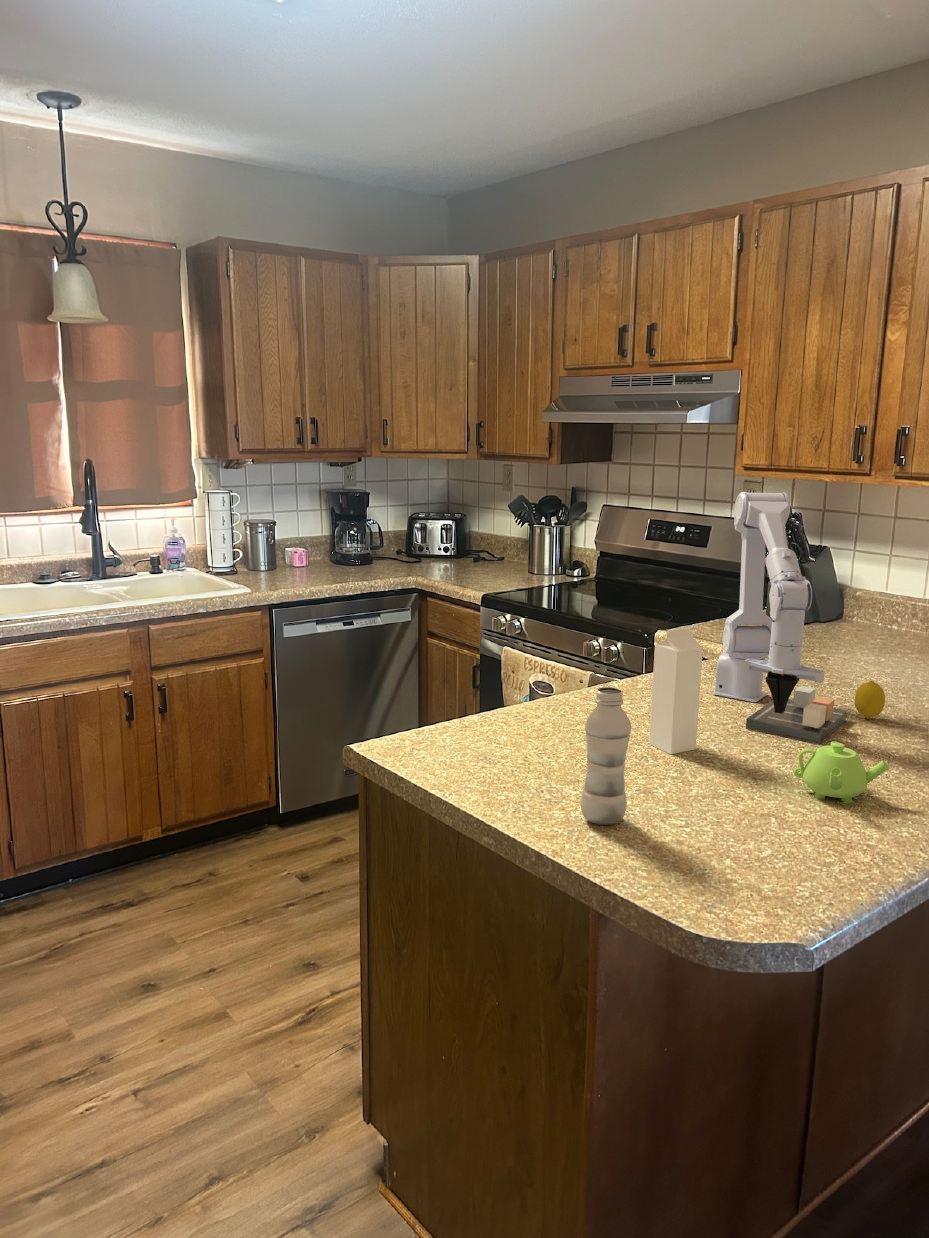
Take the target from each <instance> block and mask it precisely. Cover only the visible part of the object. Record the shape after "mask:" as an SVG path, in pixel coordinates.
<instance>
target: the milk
mask: <svg viewBox="0 0 929 1238" xmlns="http://www.w3.org/2000/svg"><path fill="white" fill-rule="evenodd" d="M703 649H704V648H703V647H702V645H700V643H699V642H698V641H697V640H696V638H695V637H694V636H693V628H692V627H685V628H676V629H670V630H669V629H668V630H667V632H666V637H665V639H664V640H662V641H660V642H657V643H656V644H655V645H654V655H653V657H654V659H653V669H652V670H653V673H652V687H651V688H652V689H651V690H652V691H651V705H650V718H649V719H650V720H649V721H650V723H649V737H648V744H649V746H652V747H654V748H656V749H658V750H660V751H663V752H665V753H667V754H669V755H674V754H678V753H684V752H689V751H693V750H696V749H697V738H698V737H697V735H698V724H699V723H698V720H699V708H700V697H701V696H700V692H701V680H702V679H701V678H702V667H703V665H702V664H703V653H704V652H703V651H704V650H703Z"/></svg>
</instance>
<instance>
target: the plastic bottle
mask: <svg viewBox="0 0 929 1238" xmlns="http://www.w3.org/2000/svg"><path fill="white" fill-rule="evenodd" d="M595 695H596V697H595V699H594V700H595V703H596V704H597V705H596V706H595V707H594V709H593V710H592V711H591V713H589V715H588V717H587V719H586V721H585V726H584V727H585V728H584V730H585V741H586V752H587V753H586V759H587V762H586V774H585V781H584V788H583V790H582V794H581V799H580V810H581V814H582V815H583V818H585V820H586V821H588V822H590V823H593V824H596V825H600V826H601V825H603V826H605V825H606V826H609V825H615V824H617V823H619V822H621V821H622V820H623V819H624V817H625V814H626V811H627V806H628V805H627V795H626V789H625V787H626V785H625V784H626V783H625V780H626V779H625V769H626V768H625V766H626V759H627V752H628V747H629V743H630V742H629V741H630V738H631V732H632V724H631V720H630V718H629V717H628V715H627V712H625V709H623V708H622V705H624V699H623V698H624V697H623V696H624V695H623V690H622V689H621V688H618V687H613V686H612V687H611V686H603V687H598V688H596V693H595Z"/></svg>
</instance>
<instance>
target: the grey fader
mask: <svg viewBox="0 0 929 1238" xmlns="http://www.w3.org/2000/svg"><path fill="white" fill-rule="evenodd" d="M793 691H794V692H793V699H792V700H793V706H796V707H801V708H805V707H806V706H807V705H808V704H810V703H812V701H813V700H815V699H816V688H815V687H809V686H804V685H800V686H798V687H797V688H794V689H793Z"/></svg>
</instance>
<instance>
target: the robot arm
mask: <svg viewBox="0 0 929 1238" xmlns="http://www.w3.org/2000/svg"><path fill="white" fill-rule="evenodd" d="M790 514H791V499H790V497H789V495H788V494H787V492H784V491H783V492H747V491H741V492H740V493H739V494H738V495H737V497H736V500H735V503H734V514H733V515H734V516H733V517H734V518H733V519H734V520H733V521H734V522H733V524H734V530H735V531H737V532H738V533H740V534H741V555H740V557H741V560H740V578H739V579H740V580H739V581H740V583H739V584H740V585H739V606H738V609H737V610H736V611H734V613H732V614H730V616H728V617H727V618H726V619H725V621H724V623H725V624H724V628H723V629H724V630H723V633H722V647H723V649H724V652H721V653H720V655H719V657H718V658H717V659H718V660H717V663H716V673H715V683H714V684H715V685H714V686H715V687H714V692H713V696H714V695H715V696H720V697H724V698H725V697H726V698H732V699H736V700H740V701H741V700H742V701H746V702H751V703H758V702H759V701H760V700H762V699H763V698H765V697H766V696H767V695H769V692H770V694H771V697H772V700H773V703H774V711H775V712H776V713H781V714H782V713H783V712H785V708H786V705H787V702H788V700H790V697H791V695H792V693H793V691H794V690H795V687H796V686H797V684H798V683H799V681H800V680H801V679H802V680H806V681H812V682H815V683H817V684H821V683H823V682H824V681H825V680H824V679H825V674H826V673H825V671H824V670H821V669H816V668H812V667H808V666H805V665H801V659H802V650H803V638H804V627H805V618H806V612H807V611H809V610H810V608H811V607H812V602H813V588H812V585H811V582H810V581H809V580H808V579H807V577H806V576H804V575H802V572H801V569H800V565H799V561H798V558H797V555H796V552H795V551H794V550H792V549H790V548H789V545H788V539H787V531H786V524H787V522H788V519H789V517H790ZM766 548H767V551H768V554H767V556H766ZM765 566H766V570H767V573H768V578H769V582H770V585H771V587H770V589H769V598H768V599H769V607H770V608H769V614H770V615H769V616H768V615H767V614H766V613H765V612H764V610H763V609H764V589H765V588H764V587H765V585H764V583H765ZM765 659H768V660H765ZM764 673H765V674H767V675H766V676H765V682H766V684H767V686H768V689H769V692H767V691H763V682H764Z"/></svg>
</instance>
